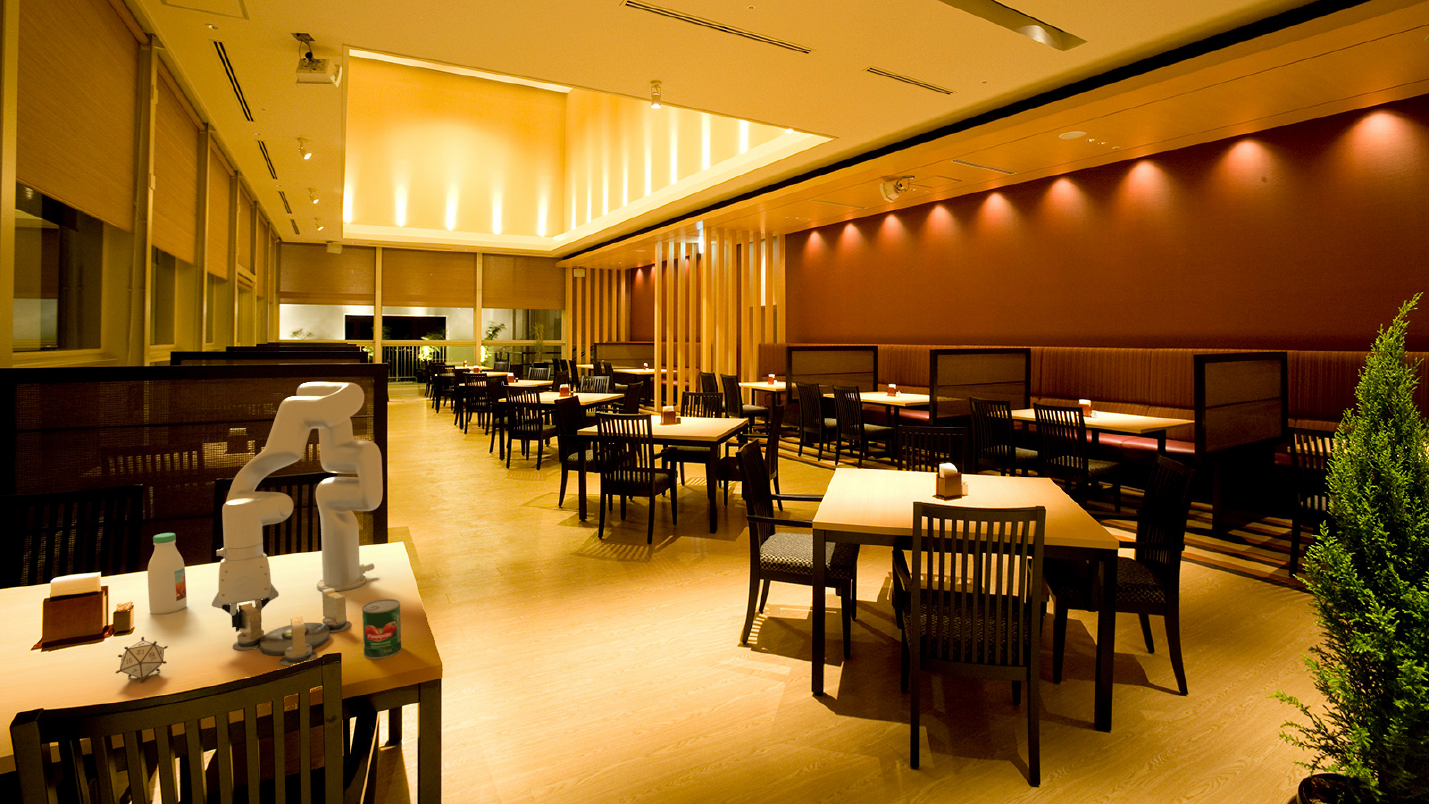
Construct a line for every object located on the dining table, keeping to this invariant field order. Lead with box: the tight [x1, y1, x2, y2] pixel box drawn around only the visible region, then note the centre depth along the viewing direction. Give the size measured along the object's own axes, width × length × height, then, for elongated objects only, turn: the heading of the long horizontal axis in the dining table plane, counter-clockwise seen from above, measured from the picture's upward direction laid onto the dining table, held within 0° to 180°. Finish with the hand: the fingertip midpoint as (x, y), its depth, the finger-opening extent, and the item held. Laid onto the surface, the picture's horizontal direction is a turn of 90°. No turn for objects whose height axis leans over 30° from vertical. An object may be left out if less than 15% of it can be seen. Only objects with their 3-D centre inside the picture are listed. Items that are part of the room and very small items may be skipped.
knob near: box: [321, 588, 348, 629], centre depth 172 cm, size 7×5×8 cm
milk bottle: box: [147, 532, 188, 615], centre depth 182 cm, size 8×8×20 cm
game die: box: [115, 636, 169, 683], centre depth 146 cm, size 9×8×10 cm
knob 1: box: [236, 601, 265, 646], centre depth 162 cm, size 7×5×8 cm
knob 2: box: [284, 616, 313, 662], centre depth 155 cm, size 7×5×8 cm
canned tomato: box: [361, 598, 403, 660], centre depth 159 cm, size 8×8×11 cm
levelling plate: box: [232, 620, 352, 667], centre depth 166 cm, size 22×24×4 cm
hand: (247, 627), depth 164 cm, fingers closed on knob 1, 3 cm apart
